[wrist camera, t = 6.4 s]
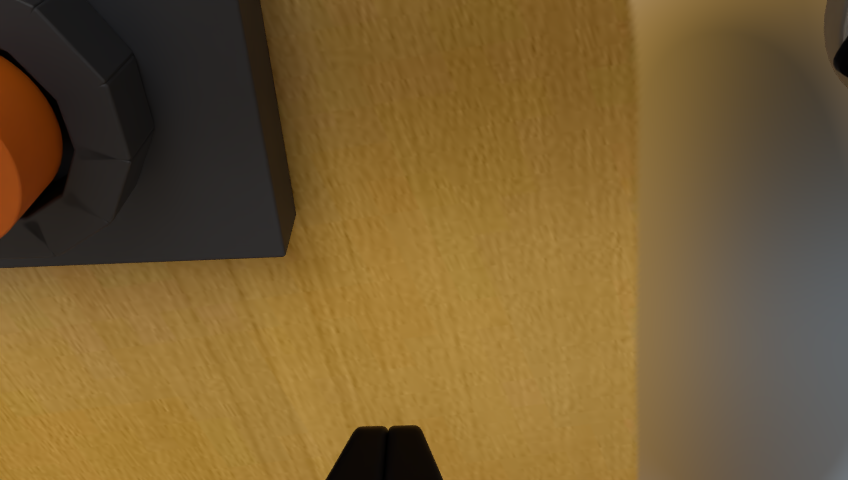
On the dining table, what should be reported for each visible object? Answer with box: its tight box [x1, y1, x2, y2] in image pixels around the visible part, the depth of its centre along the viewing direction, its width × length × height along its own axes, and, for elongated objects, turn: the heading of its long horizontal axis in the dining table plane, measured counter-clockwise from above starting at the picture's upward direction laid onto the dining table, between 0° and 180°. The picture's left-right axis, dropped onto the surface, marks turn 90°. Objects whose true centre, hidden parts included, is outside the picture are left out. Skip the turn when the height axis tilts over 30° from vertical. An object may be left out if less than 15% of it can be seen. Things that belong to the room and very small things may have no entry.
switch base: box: [0, 0, 296, 268], centre depth 16 cm, size 12×10×4 cm
